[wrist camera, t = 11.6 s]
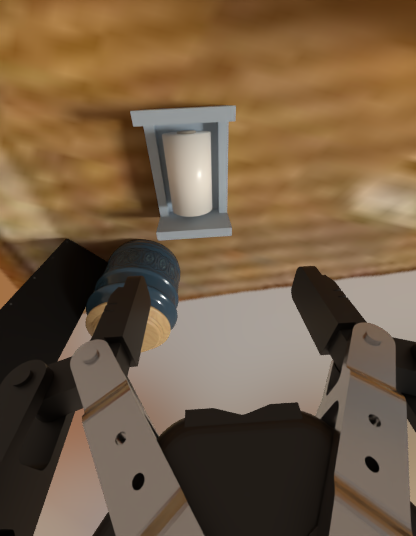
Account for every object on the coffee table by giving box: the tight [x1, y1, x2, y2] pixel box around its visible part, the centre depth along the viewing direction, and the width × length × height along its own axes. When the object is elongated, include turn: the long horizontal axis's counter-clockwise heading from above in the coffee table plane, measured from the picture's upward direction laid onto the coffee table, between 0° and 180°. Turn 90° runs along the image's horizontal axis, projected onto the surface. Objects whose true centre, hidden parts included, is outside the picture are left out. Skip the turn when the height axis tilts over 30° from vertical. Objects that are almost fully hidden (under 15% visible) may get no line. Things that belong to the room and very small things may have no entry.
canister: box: [86, 240, 180, 352], centre depth 33 cm, size 13×13×18 cm
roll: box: [162, 130, 212, 217], centre depth 27 cm, size 9×6×6 cm, turn 1°
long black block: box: [0, 239, 108, 384], centre depth 28 cm, size 8×8×28 cm
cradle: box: [130, 105, 236, 240], centre depth 27 cm, size 10×14×8 cm
